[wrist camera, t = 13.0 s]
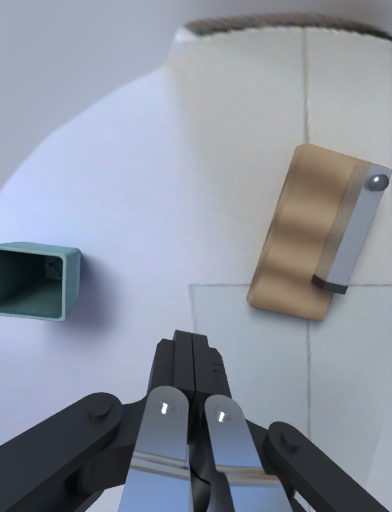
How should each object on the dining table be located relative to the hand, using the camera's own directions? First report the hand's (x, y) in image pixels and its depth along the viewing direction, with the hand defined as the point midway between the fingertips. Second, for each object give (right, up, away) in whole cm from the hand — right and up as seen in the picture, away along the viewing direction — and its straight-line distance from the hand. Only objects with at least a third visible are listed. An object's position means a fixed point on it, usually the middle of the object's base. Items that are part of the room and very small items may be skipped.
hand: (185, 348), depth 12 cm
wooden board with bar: (+18, +7, +27) cm, 33 cm away
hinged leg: (+21, +8, +24) cm, 33 cm away
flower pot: (-20, +3, +26) cm, 33 cm away
